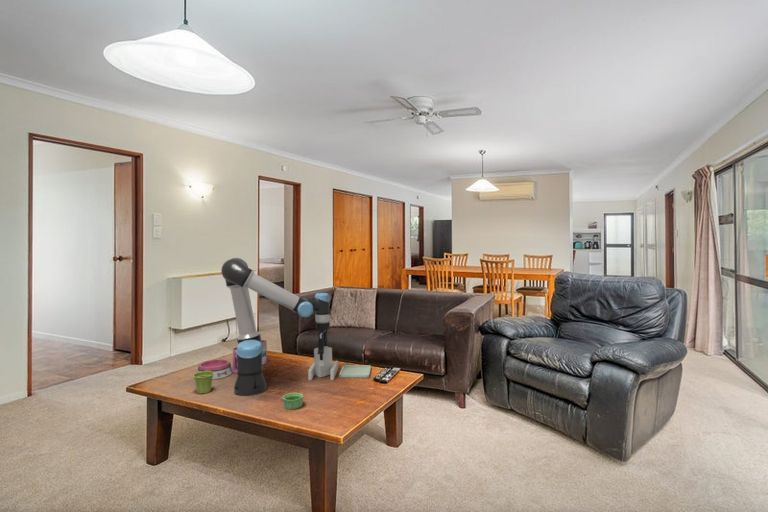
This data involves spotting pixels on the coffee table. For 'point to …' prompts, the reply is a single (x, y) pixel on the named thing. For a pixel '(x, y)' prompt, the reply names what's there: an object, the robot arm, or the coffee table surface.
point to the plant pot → (203, 381)
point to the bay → (332, 372)
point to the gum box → (264, 356)
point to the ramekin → (292, 400)
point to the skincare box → (325, 369)
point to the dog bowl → (216, 368)
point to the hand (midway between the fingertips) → (323, 363)
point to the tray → (355, 371)
